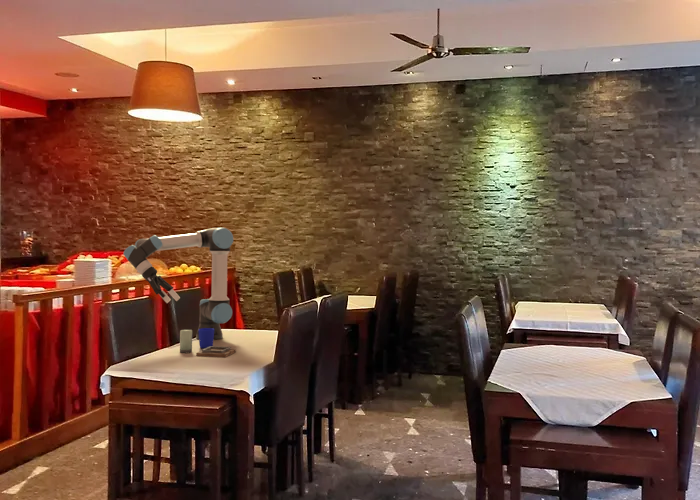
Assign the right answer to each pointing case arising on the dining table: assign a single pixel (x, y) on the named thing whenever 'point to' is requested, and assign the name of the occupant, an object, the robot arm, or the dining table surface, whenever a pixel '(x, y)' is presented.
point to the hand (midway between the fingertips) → (173, 300)
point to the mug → (206, 337)
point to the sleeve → (185, 341)
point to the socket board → (216, 351)
